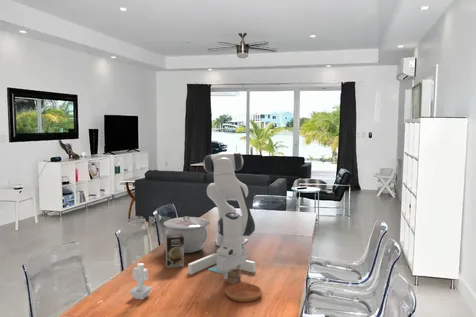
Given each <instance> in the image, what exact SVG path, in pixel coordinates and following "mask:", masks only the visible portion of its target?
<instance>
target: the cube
mask: <svg viewBox="0 0 476 317" xmlns="http://www.w3.org/2000/svg"><path fill="white" fill-rule="evenodd" d="M241 273H242V270H240V269H237V268H231V269H229V270H228V272H227V274H228V275H229V278H228V279H225V278H224V282H225V283H229V284H231V285H234V284H238V282H240V281H241V279H242V278H241Z"/></svg>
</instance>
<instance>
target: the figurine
mask: <svg viewBox="0 0 476 317" xmlns="http://www.w3.org/2000/svg"><path fill="white" fill-rule="evenodd" d="M132 279H133V280H134V281H136V282H137V285H136V286H135V287H133V288H131V289H130V290H129V291H128V292H129V293H130V295H131V296H132V297H133V299H135V300H136V299H137V300H144V299H145V298H147V297H149V295H150V293H151V291H152V289H153V286H150V285H149V286H147V285H145V281H148V279H149V270H148V269H147V268H145V263H142V262H137V263H136V267H133V268H132Z"/></svg>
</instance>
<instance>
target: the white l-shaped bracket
mask: <svg viewBox="0 0 476 317" xmlns="http://www.w3.org/2000/svg"><path fill="white" fill-rule="evenodd" d="M217 256H218V254H217V252H214V253H211V254H209V255H206V256H204V257H202V258H200V259H196V260H194V261H192V262H190V263H188V264H187V265H188V266H187V268H188V270H187V274H188V275H193V274H196V273H198V272H200V271H202V270H205V269H207V268H210V266H215V265H217ZM233 268H237V266H235V267H233ZM240 270H241V271H245V272H249V273H252V274H253V273H255V272H256V261H253V260H248V259H247V260H246V262H243V263H242V266H241V269H240Z"/></svg>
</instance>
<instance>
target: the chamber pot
mask: <svg viewBox="0 0 476 317" xmlns="http://www.w3.org/2000/svg"><path fill="white" fill-rule="evenodd" d="M210 223H211V222H210V220H208V219H206V218H203V217H196V216H187V215H185V216H183V217H182V216H181V217H180V216H179V217H175V218H171V219H168V220H166V221H164V222H163V226H164V227H166V228H167V229H166V231H165V236H166V235H177V234H182V235H183V236H184V254H192V253H196V252H198V251H200V250H202V248H203V247H204V246H205V244H206V242H207V239H208V238H207V237H208V229H207V226H209V225H210Z"/></svg>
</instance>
